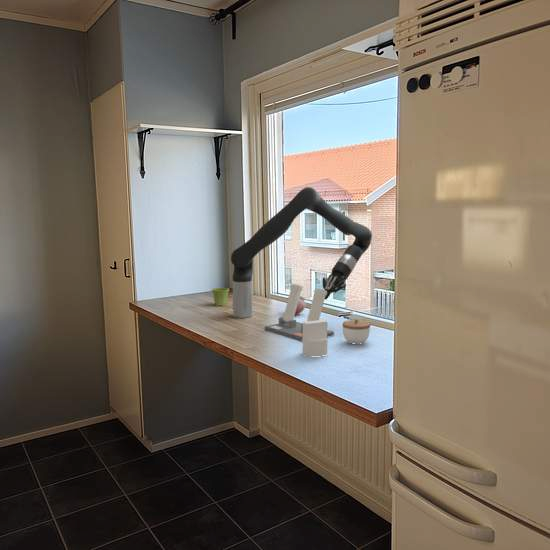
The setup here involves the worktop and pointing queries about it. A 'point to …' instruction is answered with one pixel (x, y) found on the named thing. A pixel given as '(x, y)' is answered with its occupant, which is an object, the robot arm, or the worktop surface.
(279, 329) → the switch base
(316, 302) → the lever marked
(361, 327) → the lidded jar
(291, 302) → the lever unmarked
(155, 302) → the worktop surface
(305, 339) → the white rectangular block
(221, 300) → the plant pot
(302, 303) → the decorative fruit
